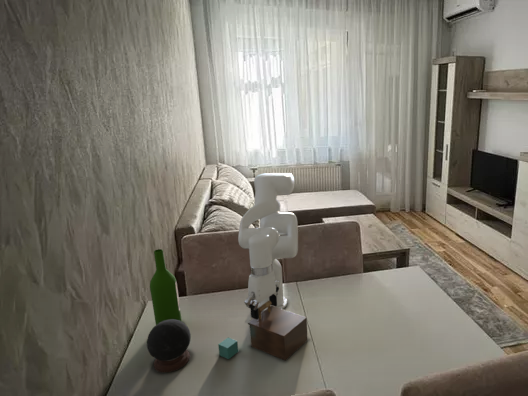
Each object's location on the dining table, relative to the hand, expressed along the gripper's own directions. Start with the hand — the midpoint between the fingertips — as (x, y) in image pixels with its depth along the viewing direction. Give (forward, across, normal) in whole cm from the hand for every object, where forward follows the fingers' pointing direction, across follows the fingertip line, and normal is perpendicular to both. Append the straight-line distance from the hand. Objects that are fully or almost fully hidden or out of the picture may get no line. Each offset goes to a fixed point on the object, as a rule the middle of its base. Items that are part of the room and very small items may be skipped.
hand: (264, 311), depth 140 cm
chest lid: (+3, 0, +6) cm, 6 cm away
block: (+12, +13, -6) cm, 18 cm away
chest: (+12, 0, +6) cm, 13 cm away
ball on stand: (+12, +25, -20) cm, 34 cm away
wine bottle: (+12, +13, -38) cm, 42 cm away
